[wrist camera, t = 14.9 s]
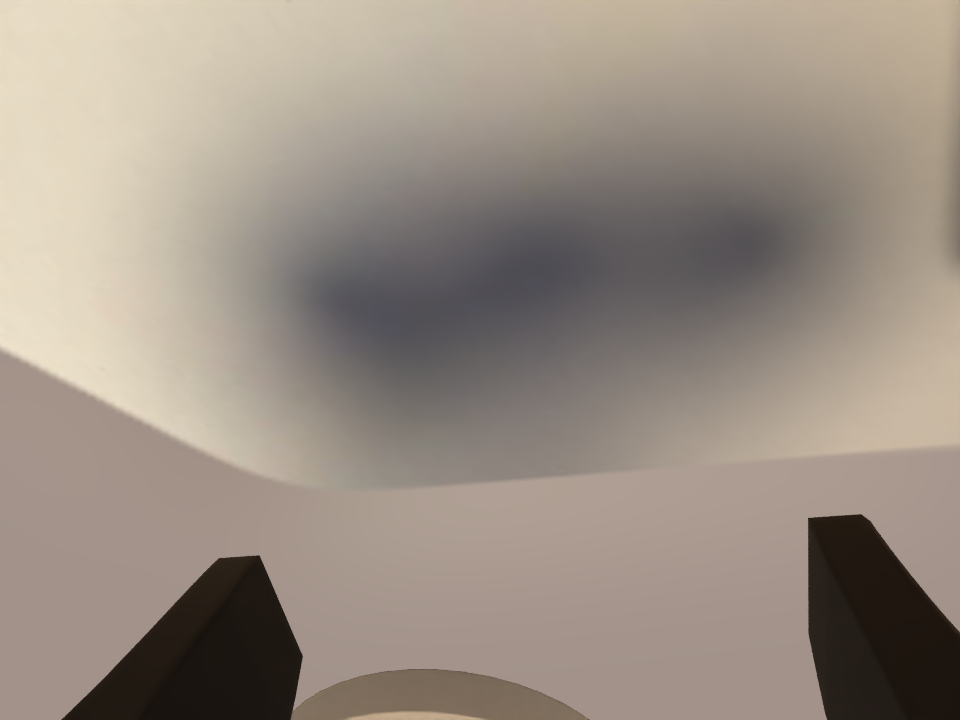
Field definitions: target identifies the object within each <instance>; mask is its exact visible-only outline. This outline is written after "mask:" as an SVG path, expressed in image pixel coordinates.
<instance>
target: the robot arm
mask: <svg viewBox="0 0 960 720" xmlns="http://www.w3.org/2000/svg"><path fill="white" fill-rule="evenodd" d="M808 569H809V570H808V574H809V576H808V580H809V581H808V585H809V587H808V592H809V593H808V597H809V598H808V600H809V638H810V643H811V647H812V653H813V658H814V662H815V667H816V672H817V677H818V682H819V686H820V691H821V696H822V700H823V705H824V710H825V714H826V717H827V720H960V632H959V631H958V630H957V629H956V628H955V627H954V626H953V624H952V623H951V622H950V621H949V620H948V619H947V618H946V616H945V615H944V614H943V613H942V612H941V611H940V610H939V609H938V607H937V606H936V605H935V604H934V603H933V601H932V600H931V599H930V598H929V597H928V595H927V594H926V593H925V592H924V590H923V589H922V588H921V587H920V586H919V584H918V583H917V582H916V581H915V579H914V578H913V577H912V576H911V575H910V573H909V572H908V571H907V570H906V568H905V567H904V566H903V564H902V563H901V562H900V561H899V560H898V558H897V557H896V556H895V554H894V553H893V552H892V550H891V549H890V548H889V546H888V545H887V544H886V542H885V541H884V540H883V538H882V537H881V535H880V534H879V533H878V532H877V530H876V529H875V527H874V526H873V524H872V523H871V521H869V520H868V519H867V518H865V517H864V516H863V515H861V514H859V515H845V516H830V517H817V518H816V517H815V518H808ZM302 657H303V656H302V653H301V651H300V649H299V646H298V644H297V642H296V639H295V637H294V635H293V633H292V630H291V628H290V626H289V623H288V621H287V618H286V616H285V614H284V612H283V609H282V607H281V604H280V602H279V600H278V598H277V595H276V593H275V591H274V588H273V586H272V583H271V581H270V579H269V577H268V574H267V572H266V570H265V567H264V565H263V563H262V560H261V558H260V556H245V557H230V558H219V559H218V560H217V561H215V563H214V564H212V565H211V566H210V568H208V569H207V570H206V571H205V572H204V573H203V574H202V576H201V577H200V578H199V579H198V580H197V581H196V582H195V583H194V584H193V585H192V586H191V587H190V588H189V589H188V590H187V591H186V592H185V593H184V595H183V596H182V597H181V598H180V599H179V600H178V601H177V602H176V603H175V604H174V605H173V606H172V607H171V608H170V609H169V610H168V612H167V613H166V614H165V615H164V616H163V617H162V618H161V619H160V620H159V621H158V622H157V623H156V625H154V626H153V628H152V629H151V630H150V631H149V632H148V633H147V634H146V635H145V636H144V637H143V638H142V639H141V640H140V641H139V642H138V643H137V644H136V645H135V646H134V648H133V649H132V650H131V651H130V652H129V653H128V654H127V655H126V656H125V657H124V658H123V659H122V660H121V661H120V662H119V663H118V664H117V665H116V666H115V667H114V669H113V670H112V671H111V672H110V673H109V674H108V675H107V676H106V677H105V678H104V679H103V680H102V681H101V682H100V683H99V684H98V685H97V686H96V687H95V688H94V689H93V690H92V691H91V692H90V693H89V694H88V695H87V696H86V697H84V698H83V699H82V700H81V701H80V702H79V703H78V704H77V705H76V706H75V707H74V708H73V709H72V710H71V711H70V712H69V713H68V714H67V715H66V716H65V717H64V718H63V719H62V720H291V715H292V711H293V705H294V701H295V697H296V691H297V685H298V680H299V674H300V669H301V663H302Z"/></svg>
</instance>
